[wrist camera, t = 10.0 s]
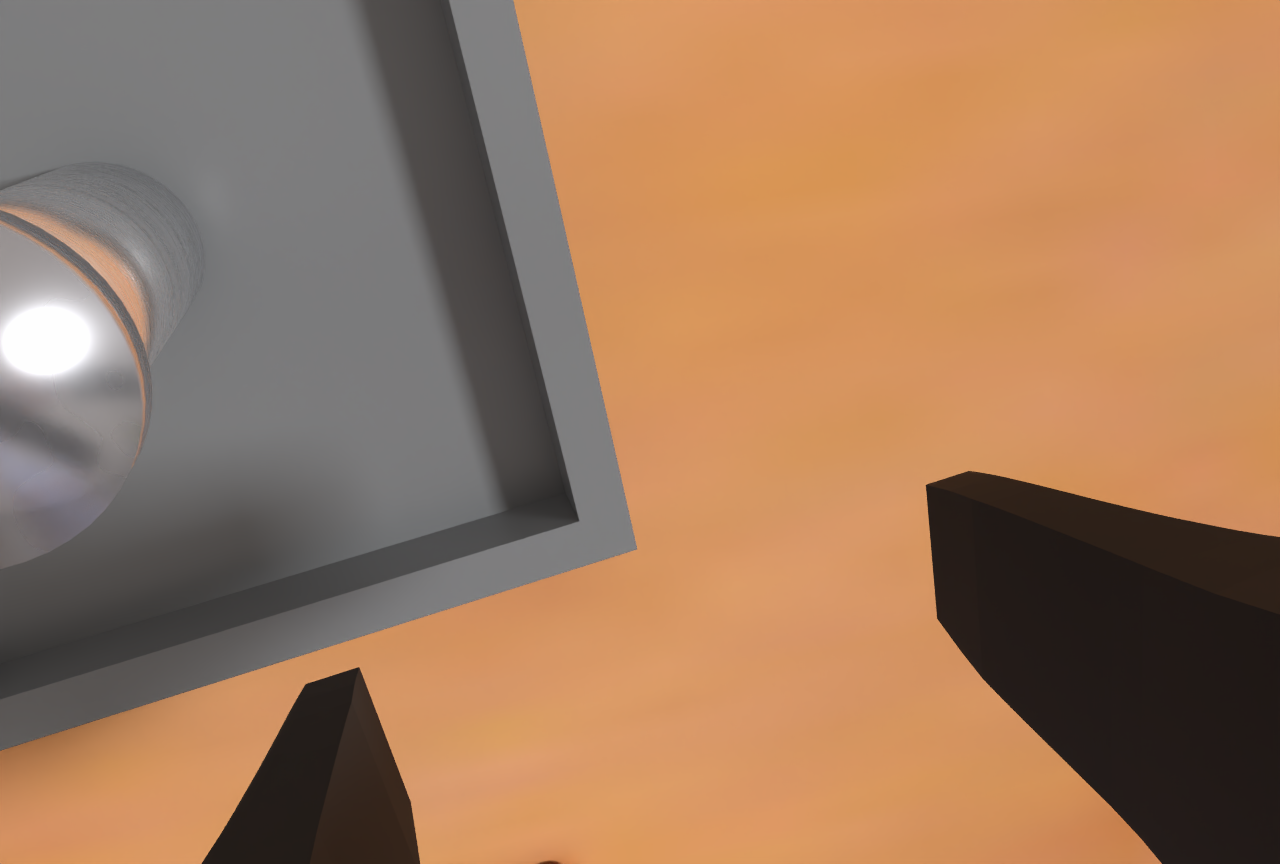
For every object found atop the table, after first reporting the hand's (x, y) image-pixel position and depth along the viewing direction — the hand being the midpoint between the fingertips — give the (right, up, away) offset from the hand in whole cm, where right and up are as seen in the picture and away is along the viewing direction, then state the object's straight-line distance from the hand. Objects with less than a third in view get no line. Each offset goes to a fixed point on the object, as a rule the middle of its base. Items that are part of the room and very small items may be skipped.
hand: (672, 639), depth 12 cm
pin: (-9, +6, +5) cm, 12 cm away
